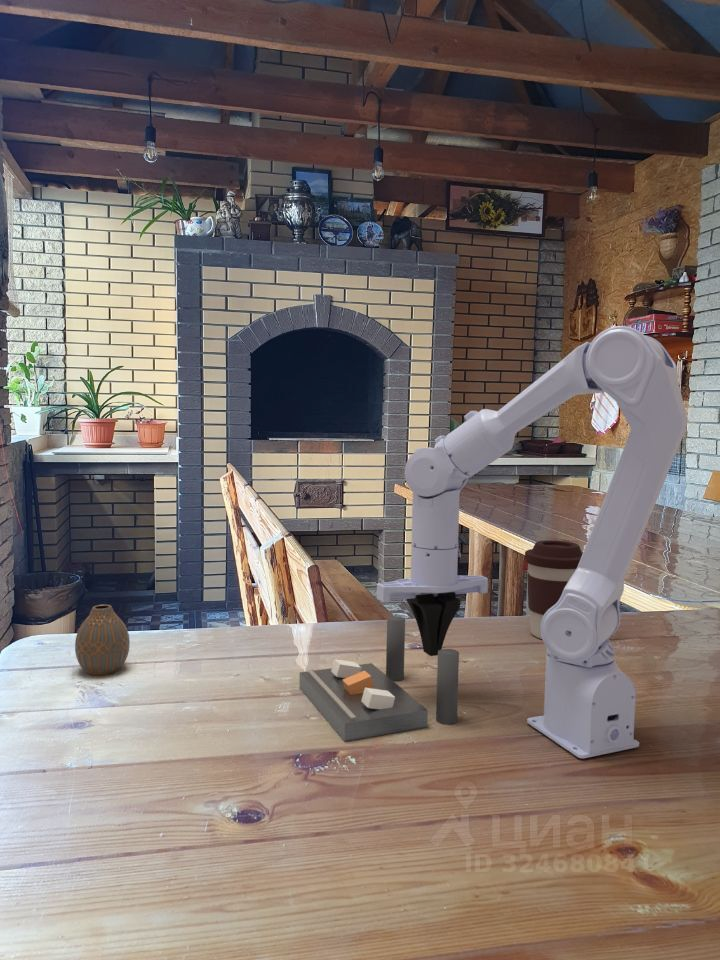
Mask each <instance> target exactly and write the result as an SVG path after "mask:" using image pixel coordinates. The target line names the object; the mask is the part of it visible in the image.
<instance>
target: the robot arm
mask: <svg viewBox="0 0 720 960" xmlns="http://www.w3.org/2000/svg"><path fill="white" fill-rule="evenodd" d="M603 393H605V394H607V395H608V396H609V397H610V398H611V399H613V400H614V401H615V402H616V405H617V406H618V408H619V410H620V412H621V414H622V416H623V417H624V419H625V420H626V422H627V424H628V425H629V428H630V432H629V434H628V437H627V439H626V442H625V445H624V447H623V450H622V452H621V455H620V458H619V460H618V462H617V465H616V468H615V470H614V473H613V475H612V478H611V479H610V482H609V486H608V488H607V490H606V494H605V496H604V498H603V501H602V503H601V506H600V508H599V512H598V514H597V516H596V518H595V521H594V524H593V526H592V529H591V531H590V534H589V536H588V538H587V542H586V544H585V547H584V550H583V551H582V552H583V554H582V557H581V559H580V562H579V564H578V567H577V569H576V570H575V572H574V574H573V575H572V577H571V578H570V580H569V581H568V583H567V584H566V586H565V588H564V590H563V592H562V595H561V597H560V599H559V600H558V602H557V603H556V604H555V605H554V606H552V607H551V608H550V609H548V610H547V612H546V613H545V614H544V616H543V618H542V621H541V628H540V631H541V636H542V639H541V640H542V642H543V644H544V646H545V647H546V649H545V650H546V653H545V675H544V697H543V698H544V700H543V701H544V703H543V715H539V716H532V717H528V718H527V719H526V723H527V725H530V726H531V727H532V728H534V729H536V730H537V731H538V732H540V733H541V734H543V735H544V736H546V737H548V738H549V739H550V740H552V741H553V742H554V743H556V744H557V745H558V746H560V747H562V748H563V749H565V750H567V751H569V752H570V753H571V754H572V755H574V756H575V757H577V758H579V759H587V758H592V757H597V756H601V755H607V754H611V753H616V752H621V751H626V750H630V749H635V748H639V747H640V742H639V741H638V740H636V739H634V735H635V717H636V701H637V698H636V697H637V696H636V695H637V694H636V692H637V691H636V688H635V684H634V682H633V680H632V679H631V678H630V676H628V675H627V674H626V673H624V672H623V671H622V670H621V669H620V668H619V666H618V665H617V661H616V659H615V658H616V652H615V650H614V647H613V645H612V642H611V641H610V638H611V637H612V636H614V635H615V633H616V632H617V631H618V629H619V627H620V625H621V611H620V601H621V598H622V596H623V593H624V591H625V579H626V576H627V573H628V571H629V569H630V566H631V564H632V561H633V559H634V557H635V554H636V551H637V549H638V547H639V545H640V542H641V540H642V537H643V534H644V533H645V530H646V529H647V525H648V523H649V520H650V519H651V515H652V513H653V511H654V507H655V506H656V503H657V501H658V499H659V496H660V493H661V491H662V489H663V486H664V483H665V481H666V479H667V476H668V474H669V471H670V470H671V467H672V464H673V462H674V459H675V457H676V455H677V453H678V450H679V448H680V445H681V442H682V440H683V438H684V435H685V434H686V431H687V425H688V418H687V413H686V409H685V403H684V400H683V396H682V393H681V388H680V383H679V379H678V367H677V364H676V362H675V361H674V359H672V357H671V355H670V354H669V353H668V352H667V350H666V348H665V347H664V346H663V345H662V343H661V342H660V341H658V340H657V339H655V338H653V337H651V336H649V335H645V334H643V333H642V332H641V331H639V330H638V329H636V328H633V327H630V326H625V325H620V326H619V325H617V326H611V327H609V328H606V329H604V330H603V331H601V332H600V333H598V334H597V335H596V336H595V337H594V338H593V339H592V341H591V342H590V341H586V342H584V343H582V344H581V345H579V346H577V347H576V348H574V349H573V350H572V351H571V352H570V353H569V354H568V355H566V356H565V357H564V358H563V359H561V360H560V361H559V362H558V363H556V364H555V365H554V366H552V368H550V369H549V370H548V371H546V372H545V373H544V374H542V375H541V376H540V377H539V378H537V379H536V380H535V381H534V382H532V383H531V384H530V385H529V386H528V387H526V388H525V389H524V390H523V391H521V392H520V393H519V394H517V395H516V396H515V397H514V398H512V399H511V400H510V401H509V402H508V403H506V404H505V405H504V406H502V407H501V408H500V409H498V410H497V411H496V410H493V409H488V408H483V409H481V410H480V411H477V410H470V411H469V412H468V413H467V414H465V415H463V417H464V419H465V421H464V422H463V423H462V424H461V425H459V426H457V427H456V428H455V429H454V430H452V431H450V432H449V433H448V434H447V435H439V436H438V437H436V438H435V439H434V442H435V445H434V447H426V446H425V447H419V448H417V449H415V451H414V452H413V454H411V455H410V457H409V458H408V459H407V461H406V463H405V466H404V479H405V482H406V484H407V486H408V488H409V489H410V490H411V491H412V507H411V508H412V509H411V510H412V512H411V513H412V514H411V552H410V553H411V555H410V577H407V578H401V579H397V580H392V581H387V582H378V583H377V584H376V600H378V601H380V602H382V603H391V601H401V600H406V602H407V604H408V606H409V608H410V610H411V612H412V613H413V617H414V619H415V621H416V624H417V628H418V631H419V634H420V639H421V640H420V641H421V644H422V650H423V652H424V653H425V654H427V655H428V656H429V657H435V656H438V651H439V650H441V649H443V645H444V643H445V638H446V635H447V633H448V630H449V628H450V625H451V623H452V621H453V619H454V618H455V616H456V614H457V613H458V611H459V610H460V608H461V599H459V598H458V597H456V596H457V595H461V594H465V595H466V594H474V593H479V594H487V593H489V591H488V589H489V578H488V577H486V576H483V575H481V574H477V575H476V574H475V575H462V574H461V575H458V561H459V559H458V557H459V525H460V522H459V521H460V520H459V519H460V494H461V491H462V490H463V488H464V487H465V486H466V484H467V482H468V480H469V478H471V477H473V476H474V475H476V474H477V473H479V472H481V471H482V470H483V469H485V468H486V467H488V466H489V465H491V464H492V463H493V462H495V461H496V460H498V459H500V458H501V457H502V456H504V455H506V454H507V453H508V452H510V451H511V450H512V449H513V446H514V441H515V438H516V435H517V433H518V432H520V431H521V430H522V429H525V428H526V427H528V426H529V425H531V424H532V423H534V422H535V421H537V420H538V419H541V418H542V417H544V416H546V414H548V413H550V412H551V411H553V410H554V409H556V408H558V407H560V406H561V405H563V404H564V403H566V402H567V401H569V400H570V399H572V398H573V397H576V396H580V395H581V396H583V395H590V394H591V395H592V394H603Z"/></svg>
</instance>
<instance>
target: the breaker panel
mask: <svg viewBox="0 0 720 960" xmlns="http://www.w3.org/2000/svg"><path fill="white" fill-rule="evenodd" d="M358 665H359V666H360V667H361V671H360V672H362V671H366V672H367V673H368V674H369V675H370V676H371V678H372V682H373V686H374V689H379V690H386V691H389V692H390V693H391V694H392V695H393V696H394V697H395V700H394V704H393V708H386V709H372V708H368V707H367V706H366V705H365V704H364V703H363V702H362V701H361V700H362V696H363V693H360V694H353V695H350V694H349V693H348V692H347V691H346V690H345V688H344V684H343V681H342V680H343V679H345V678H341V677H336V676H335V675H334V674H333V673H332V672H331V670H332V667H331V668H324V669H316V670H313V669H310V670H307V671H300V672H299V689H300V690H301V691H302V693H303V694H304V695H305V697H307V698H308V699H309V701H310V702H311V703H312V705H314V707H315V708H316V710H318V711H319V713H320V714H321V715H322V717H324V719H325V720H326V721H327V723H329V725H330V726H331V727H332V728H333V729H334V732H336V733H337V734H338V736H340V738H341V739H342V740H343V742H349V741H355V740H356V741H357V740H361V739H366V738H367V739H368V738H372V737H373V738H374V737H379V736H384V735H390V734H396V733H401V732H407V731H413V730H419V729H420V730H421V729H425V728H428V721H429V718H428V716H429V710H428V709H427V708H426V707H425V706H424V705H422V704H421V703H420V702H419V701H418V700H417V699H416V698H414V697H413V696H412V695H411V694H409V693H408V692H406V690H404V689H403V688H402V687H401V686H399V684H397V683H396V681H392V680H391V679H390V678H389V677H388V676H386V673H384V672H383V671H381V670H380V669H379V668H378V667H377V666H376V665H374V664H373V663H372V662H370V663H363V664H358Z"/></svg>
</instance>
